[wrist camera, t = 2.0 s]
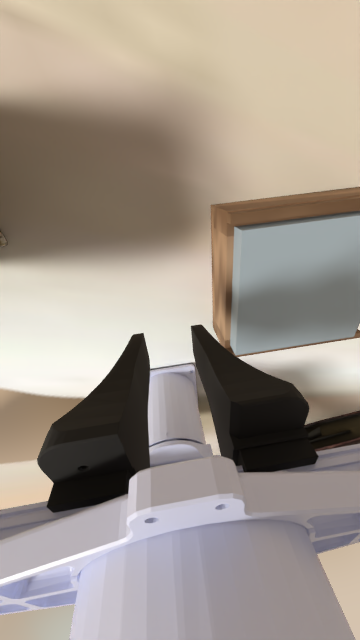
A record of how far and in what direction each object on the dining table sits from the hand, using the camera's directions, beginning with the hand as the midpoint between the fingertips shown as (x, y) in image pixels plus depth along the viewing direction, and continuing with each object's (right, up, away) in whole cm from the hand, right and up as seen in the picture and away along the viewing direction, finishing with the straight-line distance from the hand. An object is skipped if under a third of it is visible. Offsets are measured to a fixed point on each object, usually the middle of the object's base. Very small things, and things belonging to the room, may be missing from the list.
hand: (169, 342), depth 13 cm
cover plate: (+10, +4, +5) cm, 12 cm away
